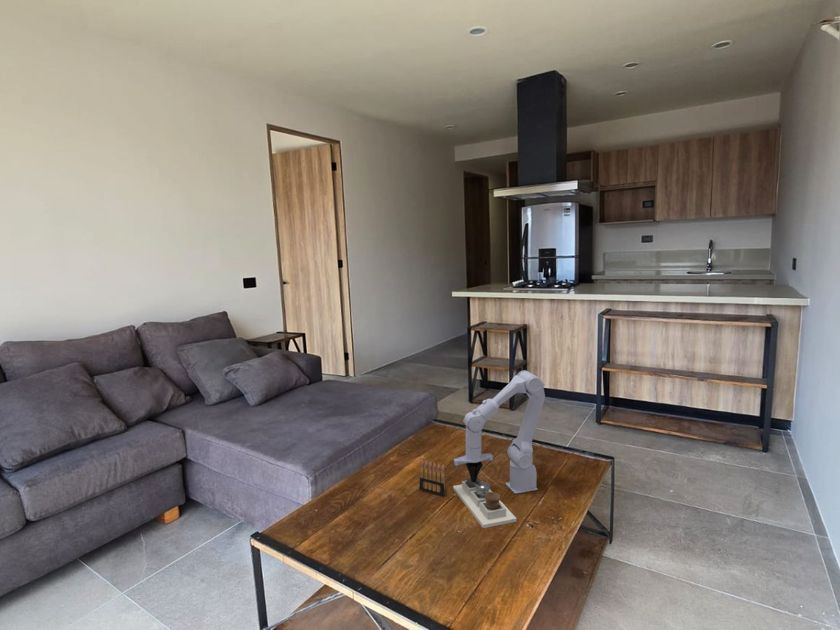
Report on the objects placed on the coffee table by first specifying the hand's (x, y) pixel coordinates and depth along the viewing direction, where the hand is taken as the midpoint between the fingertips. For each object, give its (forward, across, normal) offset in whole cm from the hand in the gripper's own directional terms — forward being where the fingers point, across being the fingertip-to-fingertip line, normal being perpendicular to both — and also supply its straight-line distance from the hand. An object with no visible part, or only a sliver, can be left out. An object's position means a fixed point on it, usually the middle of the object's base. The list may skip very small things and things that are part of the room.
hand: (473, 480), depth 172 cm
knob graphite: (+4, 0, 0) cm, 4 cm away
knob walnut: (+1, 0, +16) cm, 16 cm away
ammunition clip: (+5, +14, -6) cm, 16 cm away
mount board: (+5, 0, +8) cm, 9 cm away
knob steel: (+1, 0, +8) cm, 8 cm away
